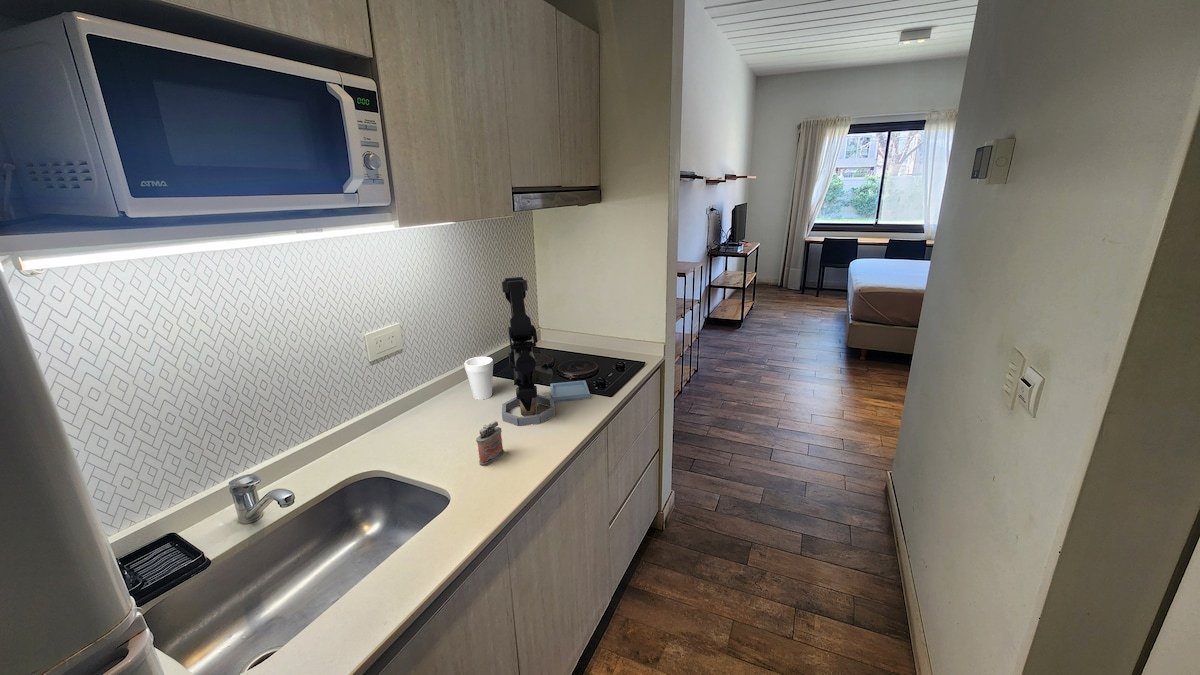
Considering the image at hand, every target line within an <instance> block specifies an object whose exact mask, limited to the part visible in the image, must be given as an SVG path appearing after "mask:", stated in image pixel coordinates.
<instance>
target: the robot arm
mask: <svg viewBox="0 0 1200 675" xmlns="http://www.w3.org/2000/svg"><path fill="white" fill-rule="evenodd" d="M501 287H502V288H501V290H502V293H504V296H505V297H504V298H505V299H506V300H507V302H508V303H509V305H510V312H511V313H510V315H511V318H510V319H509V323H510V324H509V325H510V326H508V336H509V337H508V338H509V339H508V340H509V350H510V352H508V360H509V369H510V370H511V369H513V373H514V376H513V385H514V386H517V387H516V388H515V397H516V398H517V399H520V401H521V402H522V404H523V406H524V407H525V409H526V411H530V409H531V402H532V398H536V397H537V395H538V387H537V385H536V383H537V381H539V382H542V383H543V382H544V383H546V384H551V382H552V379H553V375H554V374H553V370H552V368H550V367H549V365H548V363H546V362H542V363H541V365H537V361H536V359H535V354H534V352H533V348H536V347H537V343H538V336H537V328H536V327H535V325H534V324H532V321H531V317H530V316H529V315H527V313H526V306H525V305H526V304H525V301H524V300H525V298H526V296H527V293H526V291H528V288H529V287H528V280H527V279H524V278H523V276H513V277H504V280H503V281H501Z"/></svg>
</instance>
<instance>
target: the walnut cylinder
mask: <svg viewBox="0 0 1200 675" xmlns="http://www.w3.org/2000/svg"><path fill="white" fill-rule="evenodd" d="M519 406H520V409H519V410H520V416H521V417H522V416H531V415H537V414H538V413H537V412H538V411H537V403H536V399H535V398H532V402H531V409H530V411H526V409H525V407H524V406H523V404H522V402H521V401H520V405H519Z"/></svg>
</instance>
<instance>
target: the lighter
mask: <svg viewBox="0 0 1200 675" xmlns="http://www.w3.org/2000/svg"><path fill="white" fill-rule="evenodd" d="M478 431H479V432H478V433H479V436H477V437H476V440H475V441H476V443H477V448H478V450H477V452H478V457H479V461H478V464H479V466H480V467H487V466H489V465H491V464H493V463H494V462H496V461H498V460H499V459H500V458H501V457H502V456H503V455H504V454H505V451H504V449H503V448H504V447H503V438H502V432H503V431H502V427H500V426H499V421H497V420H494V421H491V422H490V423H489V424H485V425H483V427H482V428H481V429H479V430H478Z"/></svg>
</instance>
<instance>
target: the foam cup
mask: <svg viewBox="0 0 1200 675" xmlns="http://www.w3.org/2000/svg"><path fill="white" fill-rule="evenodd" d="M463 364H464V365H463V366H464V370H465V372H466V376H467V379H468V384H469V385H470V386H469V387H470V391H471V394H472V397H473V399H474V398H475V399H474V400H476V399H478V400H477V401H484V400H483V399H485V400H487V399H491V398H492V397H493V379H494V378H493V375H494V374H493V370H494V360H493V358H492V357H489V356H475V357H472V358H469V359H466V360H465V362H464V363H463Z"/></svg>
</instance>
